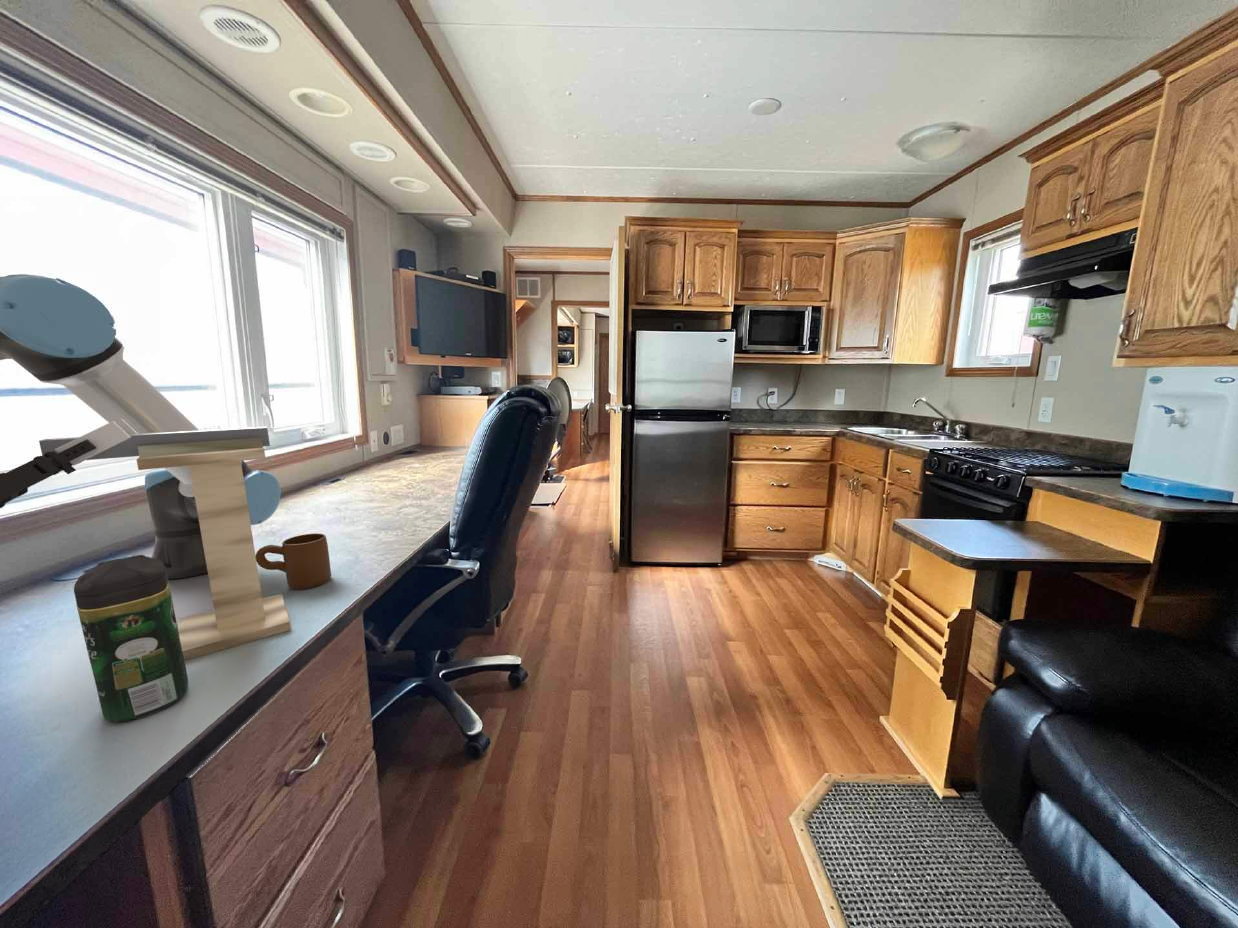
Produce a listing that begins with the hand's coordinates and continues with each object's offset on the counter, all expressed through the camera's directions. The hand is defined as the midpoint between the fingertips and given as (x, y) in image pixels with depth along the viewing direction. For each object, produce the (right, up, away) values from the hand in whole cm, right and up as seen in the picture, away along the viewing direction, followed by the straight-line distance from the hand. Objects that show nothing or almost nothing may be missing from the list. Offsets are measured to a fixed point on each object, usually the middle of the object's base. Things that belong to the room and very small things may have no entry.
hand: (125, 428), depth 67 cm
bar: (+3, -4, +3) cm, 6 cm away
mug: (+6, -30, +28) cm, 41 cm away
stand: (+7, -33, +11) cm, 35 cm away
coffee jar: (+10, -36, -7) cm, 38 cm away
